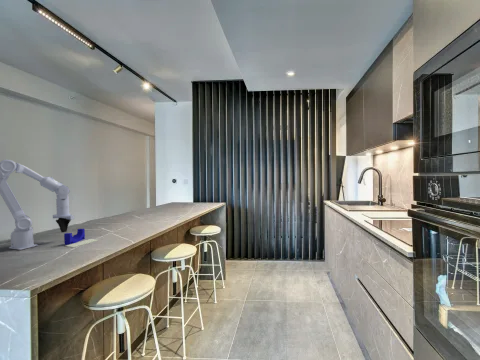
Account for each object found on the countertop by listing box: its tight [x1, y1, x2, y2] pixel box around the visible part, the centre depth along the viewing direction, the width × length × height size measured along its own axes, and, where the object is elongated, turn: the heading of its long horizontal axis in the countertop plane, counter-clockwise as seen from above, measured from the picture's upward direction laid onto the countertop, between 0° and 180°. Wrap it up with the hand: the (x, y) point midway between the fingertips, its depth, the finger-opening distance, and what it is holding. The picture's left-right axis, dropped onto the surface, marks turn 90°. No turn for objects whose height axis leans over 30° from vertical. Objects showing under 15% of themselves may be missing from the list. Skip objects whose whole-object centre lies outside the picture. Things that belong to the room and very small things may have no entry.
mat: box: [65, 238, 99, 248], centre depth 135 cm, size 6×14×1 cm, turn 158°
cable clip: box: [63, 228, 86, 246], centre depth 138 cm, size 12×4×6 cm, turn 179°
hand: (63, 231), depth 140 cm, fingers closed
